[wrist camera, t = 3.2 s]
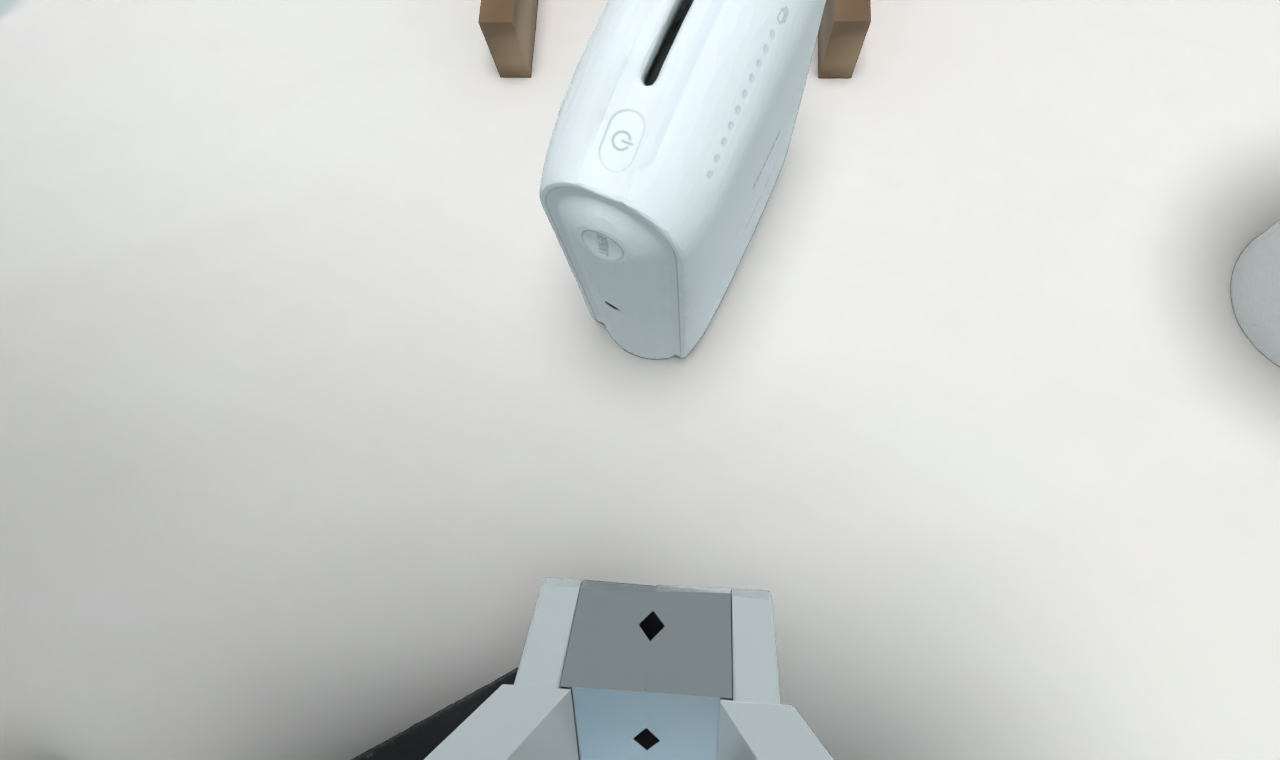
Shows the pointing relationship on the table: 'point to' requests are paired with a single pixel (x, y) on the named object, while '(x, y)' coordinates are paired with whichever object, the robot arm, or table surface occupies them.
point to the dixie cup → (1259, 292)
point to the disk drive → (434, 727)
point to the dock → (514, 23)
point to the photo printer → (673, 156)
